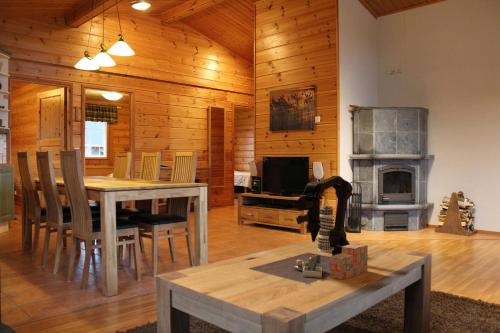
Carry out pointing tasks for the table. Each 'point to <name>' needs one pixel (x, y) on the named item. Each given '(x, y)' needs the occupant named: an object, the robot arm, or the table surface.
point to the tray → (312, 272)
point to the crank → (299, 262)
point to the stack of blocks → (349, 261)
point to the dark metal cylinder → (312, 263)
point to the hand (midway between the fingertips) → (313, 241)
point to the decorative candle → (325, 228)
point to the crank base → (299, 267)
